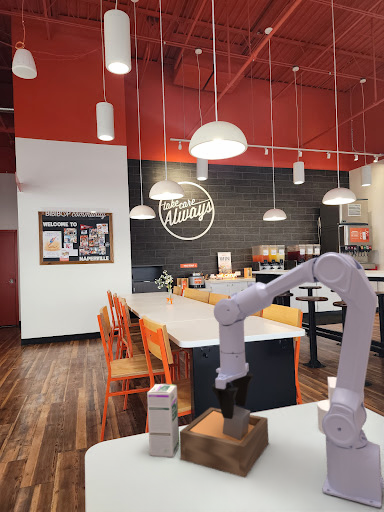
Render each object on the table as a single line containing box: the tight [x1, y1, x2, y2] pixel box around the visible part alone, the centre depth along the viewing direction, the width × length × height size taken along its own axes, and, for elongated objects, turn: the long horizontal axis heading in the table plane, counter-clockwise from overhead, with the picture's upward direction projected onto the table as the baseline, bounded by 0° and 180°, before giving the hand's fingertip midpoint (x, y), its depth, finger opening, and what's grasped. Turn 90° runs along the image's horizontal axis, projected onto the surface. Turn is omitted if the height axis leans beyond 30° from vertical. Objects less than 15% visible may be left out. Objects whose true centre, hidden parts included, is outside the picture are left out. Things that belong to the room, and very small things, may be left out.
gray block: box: [223, 404, 251, 441], centre depth 79 cm, size 4×4×5 cm
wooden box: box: [179, 407, 270, 478], centre depth 80 cm, size 15×15×6 cm
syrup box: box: [146, 383, 180, 458], centre depth 82 cm, size 6×6×14 cm
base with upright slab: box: [316, 376, 337, 435], centre depth 89 cm, size 9×9×12 cm
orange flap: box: [190, 411, 255, 443], centre depth 80 cm, size 12×12×1 cm
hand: (234, 411), depth 79 cm, fingers open, 7 cm apart
